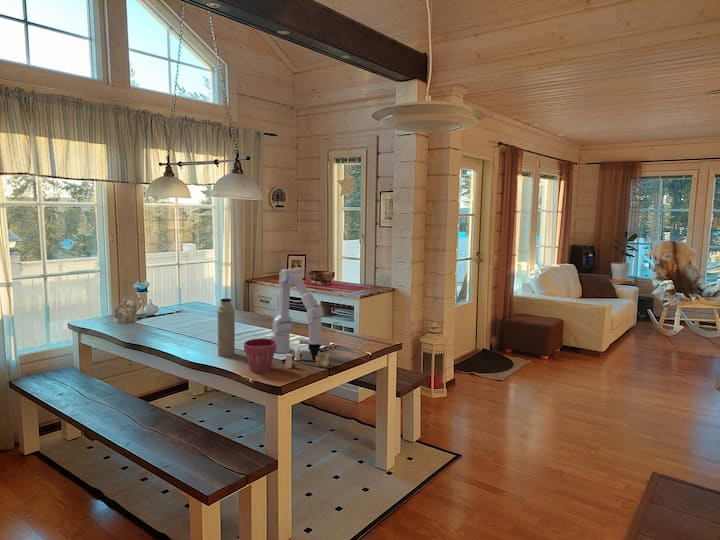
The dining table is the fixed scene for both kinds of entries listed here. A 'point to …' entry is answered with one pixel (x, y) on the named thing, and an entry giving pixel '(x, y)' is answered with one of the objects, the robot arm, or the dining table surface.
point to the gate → (307, 355)
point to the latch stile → (288, 360)
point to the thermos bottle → (226, 329)
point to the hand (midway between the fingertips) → (314, 359)
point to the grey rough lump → (126, 312)
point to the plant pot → (260, 354)
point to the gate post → (297, 354)
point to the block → (322, 360)
